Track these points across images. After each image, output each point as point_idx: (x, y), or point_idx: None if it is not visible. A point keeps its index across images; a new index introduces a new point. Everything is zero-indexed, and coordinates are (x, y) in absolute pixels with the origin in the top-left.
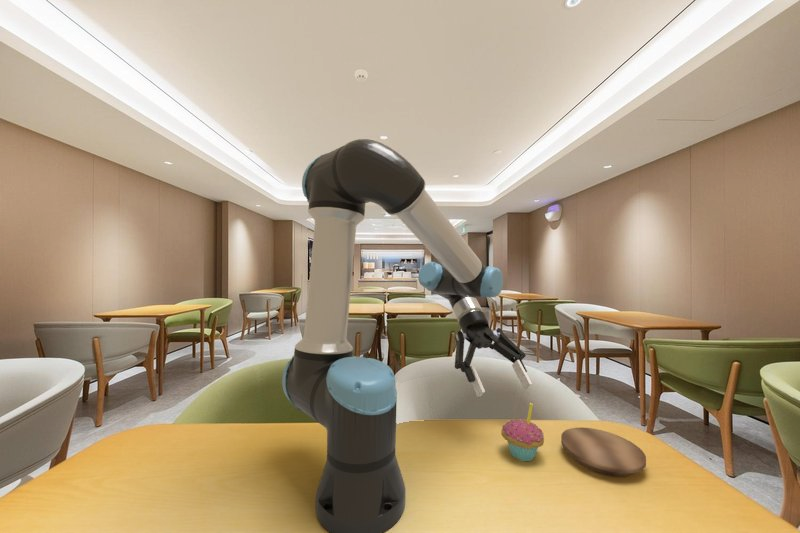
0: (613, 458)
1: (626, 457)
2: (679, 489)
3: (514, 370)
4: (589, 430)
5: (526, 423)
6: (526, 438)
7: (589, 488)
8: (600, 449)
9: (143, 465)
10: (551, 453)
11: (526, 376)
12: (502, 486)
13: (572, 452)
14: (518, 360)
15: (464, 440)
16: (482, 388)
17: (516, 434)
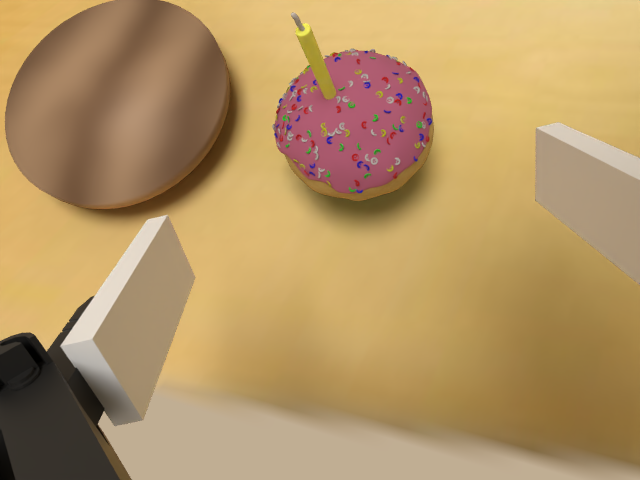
0: (137, 34)
1: (97, 37)
2: (64, 11)
3: (158, 376)
4: (67, 180)
5: (336, 93)
6: (373, 52)
7: (262, 21)
8: (133, 75)
9: None
10: (257, 159)
11: (143, 244)
12: (488, 35)
13: (226, 74)
14: (77, 339)
15: (540, 267)
16: (558, 132)
17: (403, 66)
